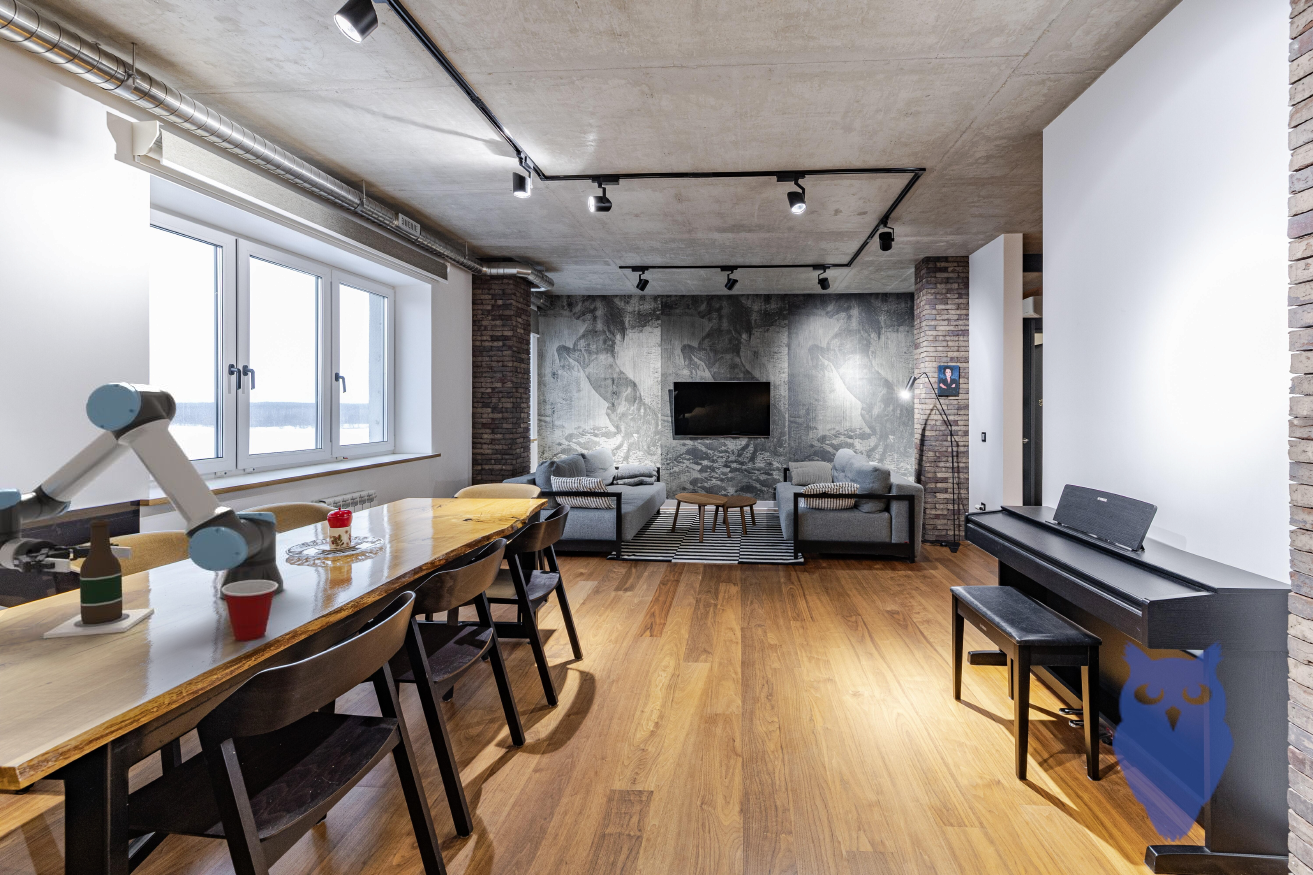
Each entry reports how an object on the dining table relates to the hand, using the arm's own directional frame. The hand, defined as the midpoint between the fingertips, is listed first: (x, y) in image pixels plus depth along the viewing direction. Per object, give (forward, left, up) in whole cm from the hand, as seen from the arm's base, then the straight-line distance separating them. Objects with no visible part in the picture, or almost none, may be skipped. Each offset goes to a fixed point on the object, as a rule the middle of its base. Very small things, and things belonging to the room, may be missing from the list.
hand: (100, 559), depth 148 cm
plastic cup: (-36, +20, -16) cm, 44 cm away
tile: (0, 0, -16) cm, 16 cm away
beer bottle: (0, 0, -15) cm, 15 cm away
